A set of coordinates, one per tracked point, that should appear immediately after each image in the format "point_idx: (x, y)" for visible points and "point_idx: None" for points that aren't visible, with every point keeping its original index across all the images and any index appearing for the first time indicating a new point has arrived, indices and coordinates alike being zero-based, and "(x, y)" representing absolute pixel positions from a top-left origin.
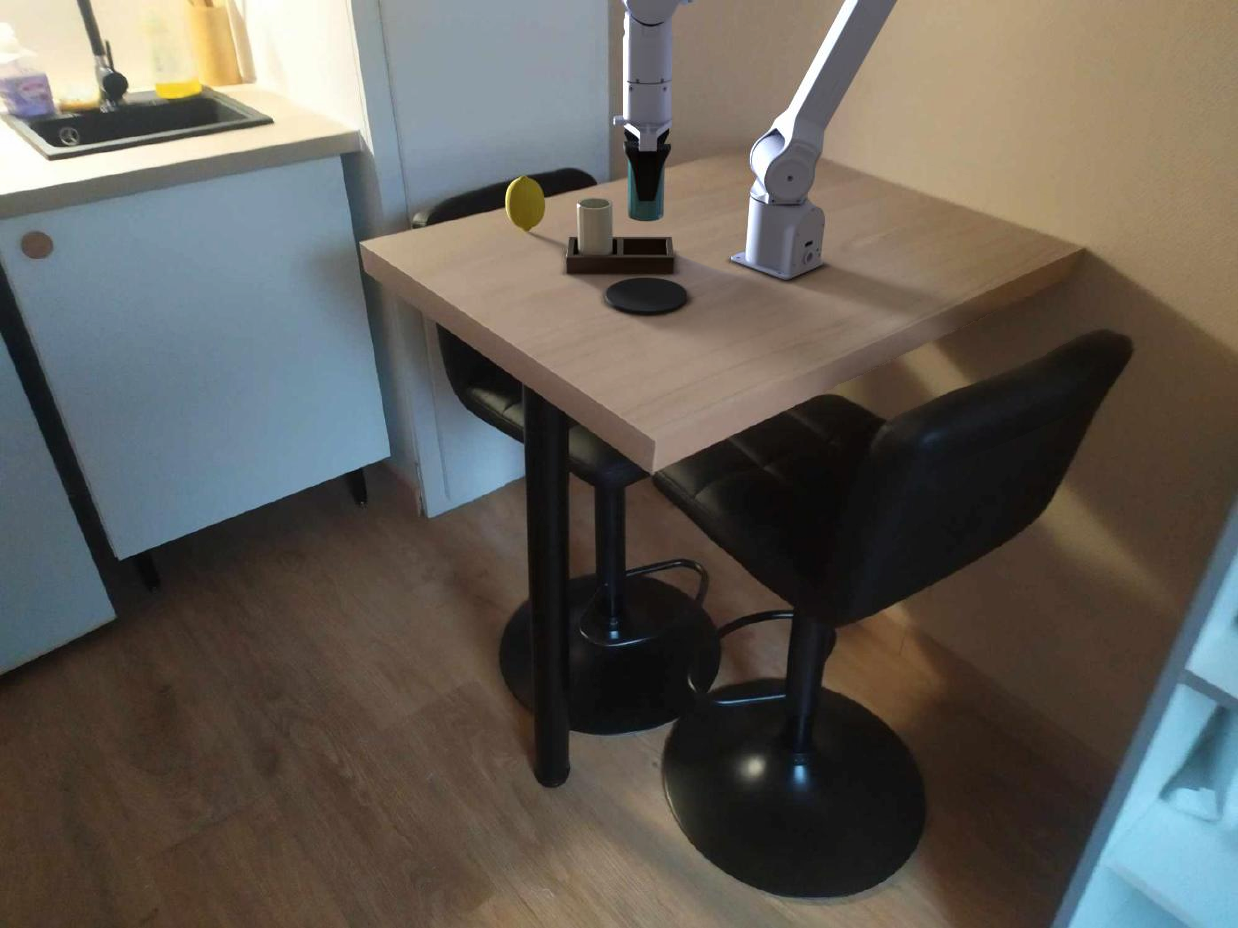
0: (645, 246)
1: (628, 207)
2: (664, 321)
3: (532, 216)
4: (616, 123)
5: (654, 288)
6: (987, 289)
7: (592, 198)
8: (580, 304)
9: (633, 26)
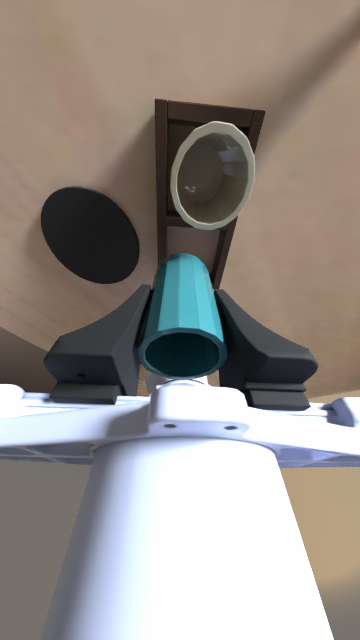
0: (217, 256)
1: (177, 259)
2: (42, 256)
3: None
4: (153, 402)
5: (108, 254)
6: None
7: (248, 179)
8: (42, 136)
9: None
